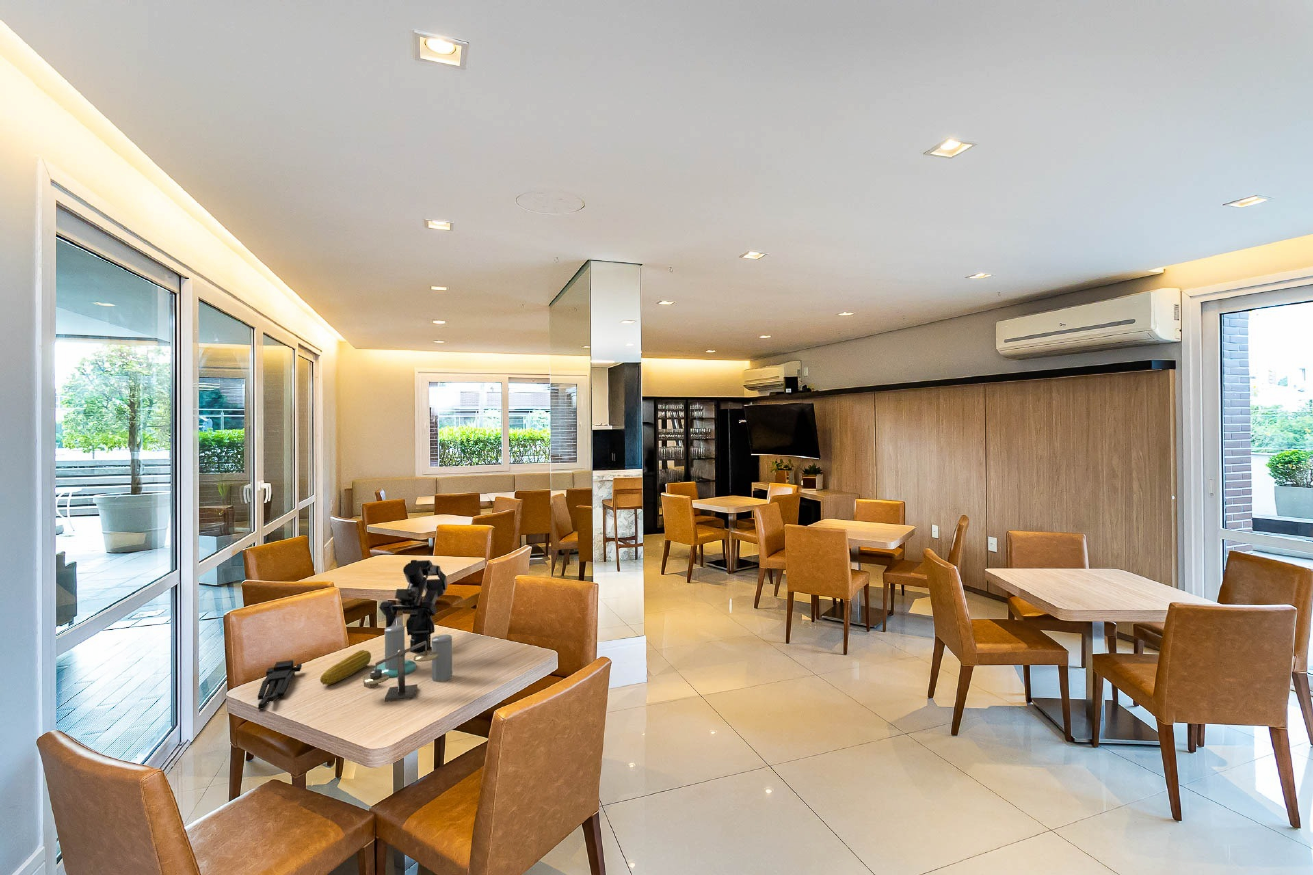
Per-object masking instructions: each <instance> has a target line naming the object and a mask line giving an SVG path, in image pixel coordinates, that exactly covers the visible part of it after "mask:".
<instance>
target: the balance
mask: <svg viewBox="0 0 1313 875" xmlns="http://www.w3.org/2000/svg"><path fill="white" fill-rule="evenodd" d="M423 645H425V652H422V653H416V654H415V655H414V656H413V661H414V662H421V663H422V662H429V661H432V660H433V659H436V658H437V657H438V653H437V652H432V651H427V642H426V641H424V642H422V643H419V644H417V645H415V646H412V647H410V646H409V647H408V648H406V649H405V650H404V649H400V650H398V652H397V653H396V654H394V655H392V656H389V657H387V658H385V657H384V658H383V659H381V660H378V661H376V662H375V664H374V668H375V670H374V669H373V670H371V671H370V672H369V675H370V676H369V675H366V676H367V677H366V676H364V677H365V678H364V677H363V680H362V683H363V685H364V684H378V685H379V684H381V683H384V682H386V681H387V680H389V679H390V678H389V675H388V674H384V673H382V670H381V669H377V666H379V665H381V664H383V663H385V662H386V661H389V660H391V659H393V658H396V657H398V677H397V686H391V687H389V688H388V690H387V692H386V694H385V696H384V702H385V703H387V702H394V701H403V700H411V699H412V700H413V699H415V696H416V693H417V691H418V686H419V685H418V684H417V683H416V684H407V685H406V674H405V660H406V654H407V653H409V652H411V651H412V650H414V649H416V648H418V647H421V646H423Z"/></svg>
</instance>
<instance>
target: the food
mask: <svg viewBox="0 0 1313 875" xmlns="http://www.w3.org/2000/svg"><path fill="white" fill-rule="evenodd" d="M371 658H372V653H371V652H370V651H369V650H364V649H362V650H358V651H355V653H353V654H352V655H349V656H348V657H346V658H344V659H342V660H340V662H337V663H336V664H334V665H332V666H331V667H329V668H328V669H327V670H325V671H324V672H323V673H322V674H321V677H320V679H319V681H320V683H321V684H322V685H328V686H329V685H332V684H335V683H338V682H340V681H342V680H344V679H347V678H348V677H350V676H352V675H353V674H354V673H356V672H358V671H360V670H361V669H363V668H365V667H366V666H367V665H368V664H369V663H370V662H371Z"/></svg>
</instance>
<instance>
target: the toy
mask: <svg viewBox="0 0 1313 875" xmlns="http://www.w3.org/2000/svg"><path fill="white" fill-rule="evenodd" d="M301 670H302V662H301V663H297V664H296V666H294V660H293V659H291V660H283V661H276V662H275V664H274V666H273V667H268V668H267V670H266V672H265V676H266V677H265V678H264V680H263V681H262V682H261V685H260V689H259V692H258V693H257V694H258V695H257V700H258V701H260V702H259V703H258V705H257V709H258V710H262V709H264V708H265V707H266V706H267V705H268V703H271V702H272V703H273V702H274V701H276V700H277V699H279V698H282V697H283V698H284V697H285V694H286V692H287V690H288V688H289V685H290V684H291V682H292V680H293V678H294V676H295V675H296V672H300V671H301ZM267 702H268V703H267Z"/></svg>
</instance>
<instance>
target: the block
mask: <svg viewBox="0 0 1313 875" xmlns="http://www.w3.org/2000/svg"><path fill="white" fill-rule="evenodd" d="M367 676H370V674H369V675H366V676H364V677H363V679H364V678H365V677H367ZM378 686H379V683H378V684H364V683H363V687H365V688H367V689H371V688H374V687H378Z"/></svg>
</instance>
